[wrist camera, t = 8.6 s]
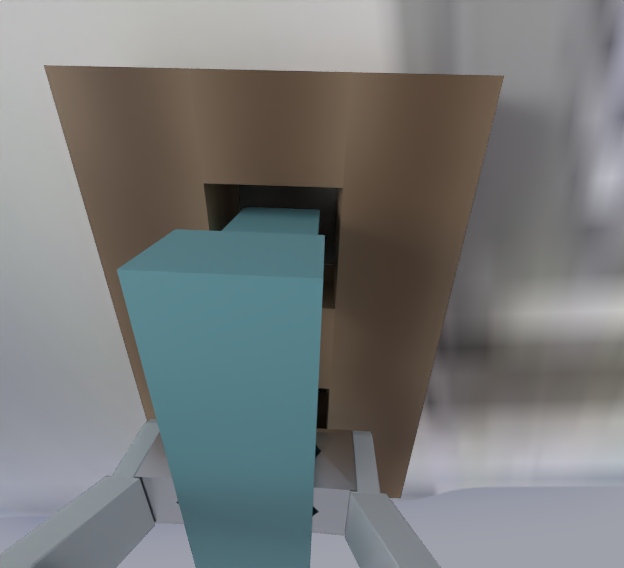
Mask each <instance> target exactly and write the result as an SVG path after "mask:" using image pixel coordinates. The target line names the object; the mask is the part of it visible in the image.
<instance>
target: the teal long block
mask: <svg viewBox="0 0 624 568" xmlns="http://www.w3.org/2000/svg"><path fill="white" fill-rule="evenodd" d="M319 219H320V210H313V209H286V208H260V207H245V208H244V209H243V210H242V211H241V212H240V213H239V214H238V215H237V216H236V217H235V218H234V219H233V220H232V221H231V222H230V223H229V224H228V225H227V226H226V227H225V228H224V229H223V230H222V231H206V230H181V229H175V230H173V231H172V232H171V233H169V234H168V235H166V236H165V237H163V238H162V239H160V240H159V241H158V242H156V243H155V244H153V245H152V246H150V247H149V248H147V249H146V250H144V251H143V252H142V253H140V254H139V255H137V256H136V257H134V258H133V259H131V260H130V261H128V262H127V263H126V264H124V265H123V266H121V267H120V268H118V269H117V273H118V276H119V280H120V284H121V288H122V291H123V295H124V299H125V303H126V306H127V310H128V314H129V318H130V322H131V325H132V329H133V333H134V337H135V340H136V344H137V348H138V352H139V355H140V359H141V363H142V367H143V371H144V374H145V378H146V382H147V386H148V389H149V393H150V397H151V401H152V404H153V408H154V412H155V416H156V420H157V423H158V427H159V431H160V435H161V438H162V442H163V446H164V450H165V453H166V457H167V461H168V465H169V469H170V472H171V476H172V480H173V484H174V487H175V491H176V495H177V499H178V502H179V506H180V510H181V514H182V518H183V521H184V525H185V529H186V533H187V536H188V540H189V544H190V547H191V551H192V555H193V559H194V563H195V567H196V568H310V555H311V533H312V511H313V490H314V468H315V446H316V425H317V403H318V381H319V360H320V338H321V316H322V294H323V271H324V245H325V235H319Z"/></svg>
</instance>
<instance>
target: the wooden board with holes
mask: <svg viewBox="0 0 624 568" xmlns="http://www.w3.org/2000/svg"><path fill="white" fill-rule="evenodd" d="M44 67H45V71H46V74H47V78H48V81H49V84H50V88H51V91H52V95H53V98H54V102H55V105H56V109H57V112H58V115H59V119H60V122H61V126H62V129H63V133H64V136H65V140H66V143H67V147H68V150H69V153H70V157H71V160H72V164H73V167H74V171H75V174H76V178H77V181H78V184H79V188H80V191H81V195H82V198H83V202H84V205H85V209H86V212H87V215H88V219H89V222H90V226H91V229H92V233H93V236H94V240H95V243H96V246H97V250H98V253H99V257H100V260H101V264H102V267H103V271H104V274H105V278H106V281H107V284H108V288H109V291H110V295H111V298H112V302H113V305H114V309H115V312H116V315H117V319H118V322H119V326H120V329H121V333H122V336H123V340H124V343H125V346H126V350H127V353H128V357H129V360H130V364H131V367H132V371H133V374H134V377H135V381H136V384H137V388H138V391H139V395H140V398H141V402H142V405H143V409H144V412H145V415H146V419H147V421H148V420H149V419H156V416H155V412H154V408H153V404H152V401H151V397H150V393H149V389H148V386H147V382H146V378H145V374H144V371H143V367H142V363H141V359H140V355H139V352H138V348H137V344H136V340H135V337H134V333H133V329H132V325H131V322H130V318H129V314H128V310H127V306H126V303H125V299H124V295H123V291H122V288H121V284H120V280H119V276H118V273H117V269H118V268H120V267H121V266H123V265H124V264H126V263H127V262H128V261H130V260H131V259H133V258H134V257H136V256H137V255H139V254H140V253H142V252H143V251H144V250H146V249H147V248H149V247H150V246H152V245H153V244H155V243H156V242H158V241H159V240H160V239H162V238H163V237H165V236H166V235H168V234H169V233H171V232H172V231H173V230H175V229H181V230H206V231H222V230H223V229H224V228H225V227H226V226H227V225H228V224H229V223H230V222H231V221H232V220H233V219H234V218H235V217H236V216H237V215H238V214H239V213H240V203H239V190H238V184H240V185H271V186H302V187H332V188H338V193H337V210H336V227H335V244H334V261H333V265H327V264H324V271H323V294H322V316H321V338H320V360H319V381H318V388H324V389H326V392H318V403H317V425H316V429H339V430H351V431H370V432H371V434H372V438H373V445H374V452H375V459H376V466H377V473H378V480H379V487H380V493H385V494H387V495H388V497H389V498H401V494H402V490H403V486H404V482H405V477H406V473H407V469H408V465H409V461H410V457H411V453H412V449H413V445H414V441H415V437H416V433H417V429H418V425H419V420H420V416H421V412H422V408H423V404H424V400H425V396H426V392H427V388H428V384H429V380H430V376H431V372H432V367H433V363H434V359H435V355H436V351H437V347H438V343H439V339H440V335H441V331H442V327H443V323H444V319H445V314H446V310H447V306H448V302H449V298H450V294H451V290H452V286H453V282H454V278H455V274H456V270H457V266H458V261H459V257H460V253H461V249H462V245H463V241H464V237H465V233H466V229H467V225H468V221H469V217H470V213H471V209H472V204H473V200H474V196H475V192H476V188H477V184H478V180H479V176H480V172H481V168H482V164H483V160H484V156H485V151H486V147H487V143H488V139H489V135H490V131H491V127H492V123H493V119H494V115H495V111H496V107H497V103H498V98H499V94H500V90H501V86H502V82H503V78H504V76H489V75H445V74H400V73H356V72H312V71H268V70H224V69H180V68H135V67H91V66H47V65H44Z"/></svg>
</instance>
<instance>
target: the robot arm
mask: <svg viewBox="0 0 624 568" xmlns="http://www.w3.org/2000/svg"><path fill="white" fill-rule="evenodd" d="M155 523H176V524H184V521H183V518H182V514H181V510H180V506H179V502H178V499H177V495H176V491H175V487H174V484H173V480H172V476H171V472H170V469H169V465H168V461H167V457H166V453H165V450H164V446H163V442H162V438H161V435H160V431H159V427H158V423H157V420H156V419H149V420H148V421H147V422H146V423H145V424H144V425H143V427H142V428H141V430H140V431H139V433H138V435H137V436H136V438H135V440H134V441H133V443H132V444H131V446H130V448H129V449H128V451H127V453H126V454H125V456H124V457H123V459H122V461H121V462H120V464H119V465H118V467H117V469H116V470H115V472H114V474H113V475H112V476H105V477H104V478H103V479H101V480H100V481H99V482H97V483H96V484H95V485H93V486H92V487H90V488H89V489H88V490H86V491H85V492H84V493H82V494H81V495H80V496H78V497H77V498H75V499H74V500H73V501H71V502H70V503H69V504H67V505H66V506H65V507H63V508H62V509H60V510H59V511H58V512H56V513H55V514H54V515H52V516H51V517H50V518H48V519H47V520H45V521H44V522H43V523H41V524H40V525H39V526H37V527H36V528H35V529H33V530H32V531H31V532H29V533H28V534H27V535H25V536H24V537H22V538H21V539H20V540H18V541H17V542H16V543H14V544H13V545H12V546H10V547H9V548H7V549H6V550H5V551H3V552H2V553H1V554H0V568H116V567H117V566H118V565H119V564H120V563H121V562H122V561H123V560H124V558H125V557H126V556H127V555H128V554H129V553H130V552H131V551H132V550H133V549H134V547H136V545H137V544H138V543H139V542H140V541H141V540H142V539H143V538H144V537H145V536H146V535H147V534H148V532H149V531H150V530H151V529H152V528H153V527H154V526H155ZM312 532H314V533H324V534H335V535H345V539H346V541H347V543H348V545H349V547H350V549H351V551H352V553H353V555H354V557H355V559H356V561H357V563H358V565H359V567H360V568H441V567H440V566H439V564H438V563H437V561H436V560H435V559H434V557H433V556H432V555H431V553H430V552H429V551H428V549H427V548H426V547H425V545H424V544H423V543H422V541H421V540H420V539H419V537H418V536H417V535H416V533H415V532H414V531H413V529H412V528H411V526H410V525H409V524H408V522H407V521H406V520H405V518H404V517H403V516H402V514H401V513H400V511H399V510H398V509H397V507H396V506H395V505H394V503H393V502H392V501H391V499H390V498H389V497H388V495H387V494H385V493H380V487H379V480H378V473H377V466H376V459H375V452H374V445H373V438H372V434H371V432H370V431H351V430H339V429H316V446H315V468H314V490H313V511H312Z"/></svg>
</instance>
